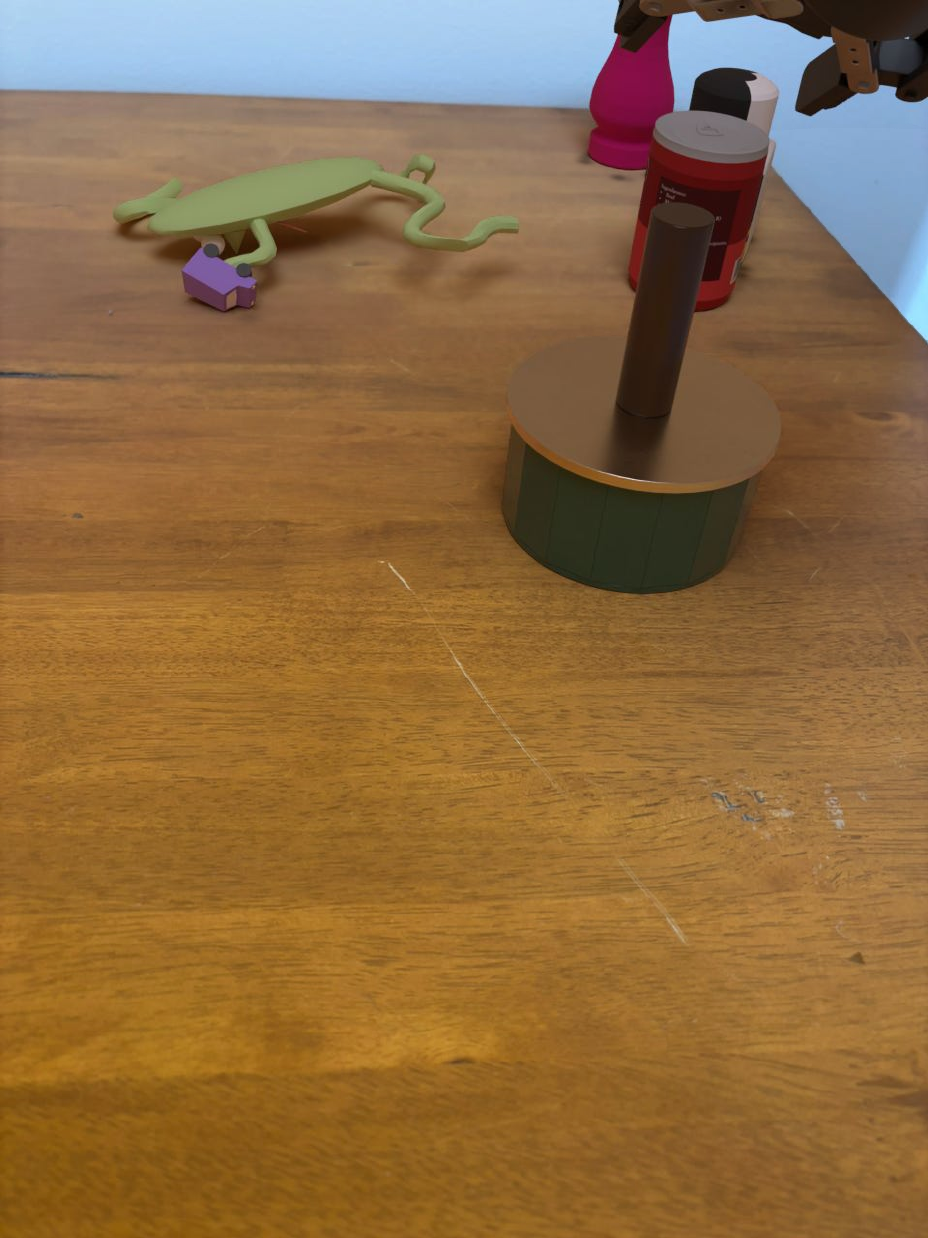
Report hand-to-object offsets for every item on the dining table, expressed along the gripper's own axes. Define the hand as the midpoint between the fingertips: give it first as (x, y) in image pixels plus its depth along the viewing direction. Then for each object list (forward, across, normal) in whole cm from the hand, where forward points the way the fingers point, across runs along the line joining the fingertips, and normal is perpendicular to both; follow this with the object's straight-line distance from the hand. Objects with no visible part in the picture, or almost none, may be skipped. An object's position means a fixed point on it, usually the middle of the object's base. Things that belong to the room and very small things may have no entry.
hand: (719, 61), depth 50 cm
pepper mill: (+50, -12, -15) cm, 54 cm away
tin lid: (+6, -2, +14) cm, 16 cm away
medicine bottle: (+37, -16, -5) cm, 40 cm away
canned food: (+30, -12, +1) cm, 33 cm away
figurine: (+36, +13, +4) cm, 39 cm away
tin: (+10, -4, +19) cm, 22 cm away
